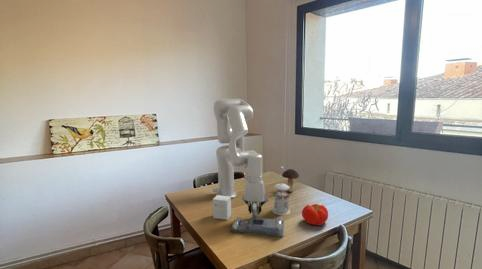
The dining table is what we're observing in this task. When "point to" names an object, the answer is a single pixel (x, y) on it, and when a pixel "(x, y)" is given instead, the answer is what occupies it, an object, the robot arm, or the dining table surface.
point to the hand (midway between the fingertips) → (254, 212)
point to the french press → (281, 204)
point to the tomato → (315, 214)
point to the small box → (222, 207)
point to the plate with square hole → (259, 226)
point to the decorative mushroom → (290, 178)
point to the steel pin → (254, 209)
